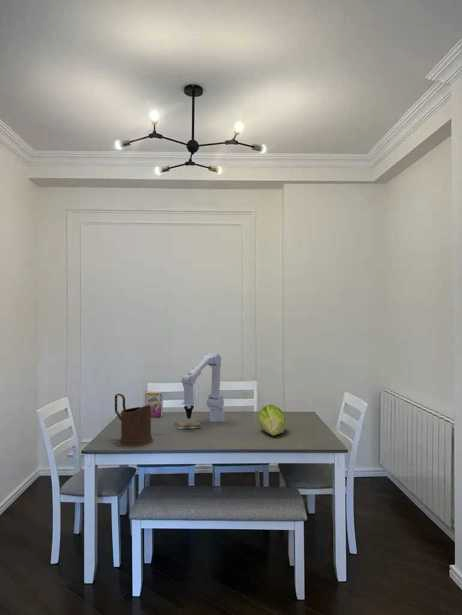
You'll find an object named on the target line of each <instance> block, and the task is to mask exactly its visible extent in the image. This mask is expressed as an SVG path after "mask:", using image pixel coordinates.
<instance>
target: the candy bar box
mask: <svg viewBox="0 0 462 615" xmlns="http://www.w3.org/2000/svg"><path fill="white" fill-rule="evenodd" d="M163 394H164V393H163V391H146V392H145V393H144V402H145V403H144V406H146V405H151V418H162V417H164V416H163V415H164V414H163V413H164V412H163V411H164V409H163V408H164V407H163V405H164V404H163V403H164V400H163V398H164V397H163V396H164V395H163Z"/></svg>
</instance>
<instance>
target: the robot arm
mask: <svg viewBox="0 0 462 615" xmlns="http://www.w3.org/2000/svg"><path fill="white" fill-rule="evenodd" d="M206 366H209V367H210V368H211V387H210V388H211V389H210V390H211V391H210V393H209V394H208V395H207V399H206V405H207V408H208V409H209V421H210V422H211V423H219V422H223V424H225V422H226V421H225V420H226V418H225V417H226V416H225V408H223V407H224V405H225V401H224V395H223V394H221V391H220V389H221V386H220V385H221V366H222V356H221V355H220V354H219V353H208V352H207V353H205V354H204V355H203V356H202V359H201V360H200V361H199V363H198V365H197V366H193V367H192V368H191V369H190V370H189V372H188V373H187V374H184V375H183V376H182V379H181V383H182V386H183V402H181V404H182V405H184V406H183V409H184V411H185V413H186V414H185V415H186V418H187V420H188V419H189V420H190V419H192V414H193V410H194V408H195V406H194V405H195V402H194V401H195V400H194V399H195V398H194V397H195V396H194V393H195V392H194V390H195V389H194V385H195V384H196V381H197V378H199V376H200V375H201V374H202V371H203V370H204V369H205V368H206Z"/></svg>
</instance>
